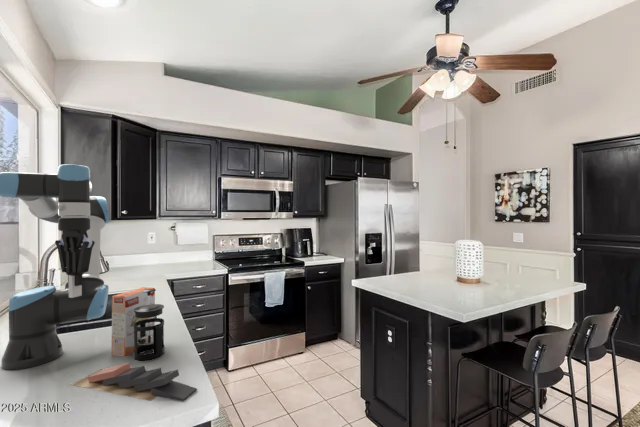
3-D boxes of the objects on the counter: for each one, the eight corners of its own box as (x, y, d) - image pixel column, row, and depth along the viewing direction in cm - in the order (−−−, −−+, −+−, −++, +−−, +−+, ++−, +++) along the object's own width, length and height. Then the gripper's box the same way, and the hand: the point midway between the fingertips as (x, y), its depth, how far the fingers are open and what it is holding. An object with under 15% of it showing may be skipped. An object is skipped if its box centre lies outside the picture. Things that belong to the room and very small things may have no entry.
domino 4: (151, 388, 82) (183, 399, 79) (166, 378, 87) (196, 388, 84) (151, 394, 82) (183, 405, 79) (165, 384, 87) (196, 394, 84)
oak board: (70, 387, 88) (70, 384, 88) (101, 372, 96) (101, 369, 96) (151, 404, 79) (151, 400, 79) (177, 385, 88) (177, 382, 88)
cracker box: (126, 359, 105) (125, 296, 105) (110, 358, 106) (110, 295, 106) (156, 342, 118) (155, 287, 119) (142, 341, 120) (141, 286, 120)
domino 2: (118, 382, 85) (146, 376, 82) (133, 373, 90) (160, 367, 87) (119, 388, 85) (147, 382, 82) (135, 379, 90) (162, 373, 87)
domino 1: (102, 379, 87) (129, 374, 84) (118, 371, 92) (144, 365, 89) (103, 385, 87) (130, 380, 84) (119, 376, 91) (145, 371, 89)
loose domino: (105, 374, 93) (131, 368, 90) (89, 382, 88) (115, 376, 85) (104, 368, 93) (129, 362, 90) (87, 377, 88) (113, 371, 86)
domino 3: (134, 386, 83) (163, 378, 81) (149, 376, 88) (177, 369, 86) (136, 392, 83) (165, 384, 81) (151, 382, 88) (179, 375, 85)
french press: (126, 359, 105) (126, 290, 105) (155, 349, 112) (154, 284, 112) (144, 369, 98) (144, 295, 98) (173, 357, 106) (172, 289, 106)
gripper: (44, 217, 92) (45, 298, 92) (77, 217, 88) (78, 301, 88) (71, 216, 99) (72, 291, 99) (103, 217, 95) (103, 294, 96)
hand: (75, 296), depth 94 cm, fingers closed
